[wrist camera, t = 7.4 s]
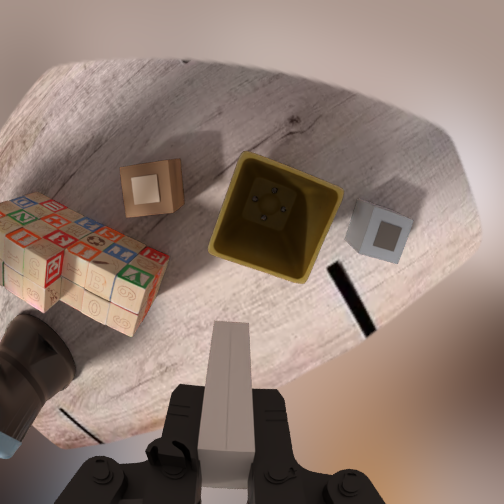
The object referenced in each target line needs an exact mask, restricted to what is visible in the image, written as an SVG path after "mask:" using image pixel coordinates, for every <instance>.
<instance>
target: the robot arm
mask: <svg viewBox="0 0 504 504" xmlns="http://www.w3.org/2000/svg"><path fill="white" fill-rule="evenodd" d="M74 376H75V365H74V361H73V358H72V356H71V354H70V352H69V350H68V348H67V347H66V345H65V344H64V342H63V341H62V340H61V339H60V337H59V336H58V335H57V334H56V333H55V332H54V331H53V330H52V329H51V328H50V327H49V326H48V325H46V324H45V323H44V322H42V321H41V320H39V319H38V318H36V317H33V316H31V315H27V314H21V315H18V316H16V317H15V318H14V319H13V320H12V321H11V322H10V323H9V324H8V326H7V328H6V330H5V334H4V336H3V338H2V340H1V342H0V458H4V459H8V458H11V457H12V456H13V454H14V453H15V451H16V450H17V449H18V447H19V446H20V445H21V444H22V443H21V442H22V440H23V439H24V437H25V435H26V433H27V432H28V430H29V428H30V427H31V425H32V423H33V422H34V420H35V418H36V417H37V415H38V413H39V412H40V410H41V408H42V407H43V405H44V404H45V402H46V401H47V400H49V399H50V398H52V397H53V396H54V395H55V394H57V393H58V392H59V391H62V390H64V389H66V388H67V387H68V386H69V384H70V383H71V381H72V380H73V378H74ZM145 452H146V454H147V457H148V460H146V461H144V462H140V463H129V464H119V463H117V462H116V461H115V460H113V459H112V458H109V457H105V456H95V457H92V458H89V459H88V460H87V461H85V462H84V463H83V464H82V466H81V467H80V469H79V470H78V471H77V473H76V474H75V475H74V477H73V478H72V479H71V481H70V482H69V483H68V485H67V486H66V488H65V489H64V490H63V492H62V493H61V494H60V496H59V497H58V499H57V500H56V501H55V502H54V504H201V487H212V488H228V489H247V488H248V501H247V504H385V502H384V501H383V499H382V498H381V496H380V495H379V493H378V492H377V490H376V489H375V487H374V486H373V484H372V483H371V481H370V480H369V478H368V477H367V476H366V475H365V474H364V473H362V472H360V471H358V470H353V469H346V470H341V471H339V472H337V473H335V474H333V475H328V474H322V473H316V472H312V471H309V470H307V469H304V468H303V467H302V466H300V465H299V464H298V463H297V461H296V460H295V458H294V455H293V450H292V444H291V438H290V431H289V425H288V422H287V413H286V407H285V401H284V398H283V397H282V395H281V394H280V393H279V391H278V390H277V389H252V380H251V359H250V337H249V323H240V322H225V321H214V326H213V333H212V340H211V347H210V354H209V361H208V369H207V376H206V384H205V386H194V385H185V384H179V385H178V387H177V388H176V389H175V390H174V391H173V392H172V395H171V399H170V403H169V407H168V411H167V415H166V419H165V424H164V428H163V433H162V437H161V438H158V439H155V440H154V441H153V442H151V443H150V444H149V445H148V447H147V449H146V451H145Z"/></svg>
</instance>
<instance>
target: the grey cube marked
mask: <svg viewBox="0 0 504 504" xmlns="http://www.w3.org/2000/svg"><path fill="white" fill-rule="evenodd" d="M413 221H414V220H412V219H410V218H408V217H406V216H404V215H402V214H400V213H398V212H396V211H394V210H391V209H388V208H385V207H382V206H380V205H377V204H374V203H371V202H368V201H365V200H362V199H359V198H358V199H357V202H356V205H355V209H354V212H353V215H352V218H351V221H350V224H349V227H348V230H347V233H346V236H345V240H346V241H347V242H348V243H349V244H350V245H351V246H352V247H353V248H354V249H355V250H356V251H357V252H358V253H359V254H362V255H366V256H369V257H373V258H377V259H380V260H384V261H388V262H391V263H395V264H398V262H399V260H400V257H401V255H402V252H403V249H404V247H405V244H406V241H407V238H408V236H409V233H410V230H411V227H412V224H413Z"/></svg>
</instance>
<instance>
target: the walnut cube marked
mask: <svg viewBox="0 0 504 504" xmlns="http://www.w3.org/2000/svg"><path fill="white" fill-rule="evenodd" d="M120 176H121V185H122V193H123V200H124V207H125V213H126V218H129V217H138V216H147V215H156V214H166V213H174V212H175V211H176V210H178V209H179V208H180V207H181V206H183V205H184V204H185V200H184V191H183V181H182V171H181V160H180V159H171V160H163V161H156V162H149V163H143V164H137V165H131V166H125V167H120Z"/></svg>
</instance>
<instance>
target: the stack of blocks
mask: <svg viewBox="0 0 504 504" xmlns="http://www.w3.org/2000/svg"><path fill="white" fill-rule="evenodd" d="M169 258H170V256H168V255H166V254H164V253H161V252H159V251H157V250H155V249H152V248H150V247H147V246H146V245H145V244H143V243H141V242H139V241H137V240H134V239H132V238H130V237H128V236H125V235H124V234H122V233H120V232H118V231H116V230H114V229H111V228H109V227H107V226H104V225H102V224H100V223H98V222H96V221H93V220H91V219H89V218H87V217H85V216H83V215H81V214H79V213H77V212H75V211H73V210H71V209H68V207H66V206H64V205H62V204H60V203H58V202H56V201H54V200H52V199H50V198H49V197H47V196H45V195H43V194H41V193H39V192H34V193H31V194H27V195H24V196H22V197H19V198H16V199H12V200H9V201H5V202H1V203H0V285H1V286H5V288H6V289H7V290H8V291H10V292H11V293H13V294H14V295H16V296H17V297H19V298H20V299H22V300H24V301H25V302H27V303H28V304H30V305H31V306H33V307H35V308H36V309H38V310H39V311H41V312H43V313H45V312H46V311H47V310H48V309H50V308H51V307H52V306H53V305H54V304H55V303H56V302H58V301H59V300H61V301H62V302H64V303H66V304H68V305H69V306H71V307H73V308H75V309H77V310H78V311H81V312H82V313H83V314H85V315H87V316H88V317H90V318H92V319H94V320H96V321H98V322H100V323H102V324H104V325H107V326H109V327H111V328H113V329H115V330H117V331H119V332H121V333H123V334H125V335H127V336H129V337H133V335H134V333H135V332H136V330H137V328H138V327H139V325H140V324H141V322H142V321H143V319H144V317H145V316H146V314H147V312H148V311H149V309H150V307H151V305H152V303H153V302H154V300H155V298H156V296H157V293H158V290H159V287H160V284H161V281H162V278H163V276H164V273H165V270H166V268H167V265H168V262H169Z"/></svg>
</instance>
